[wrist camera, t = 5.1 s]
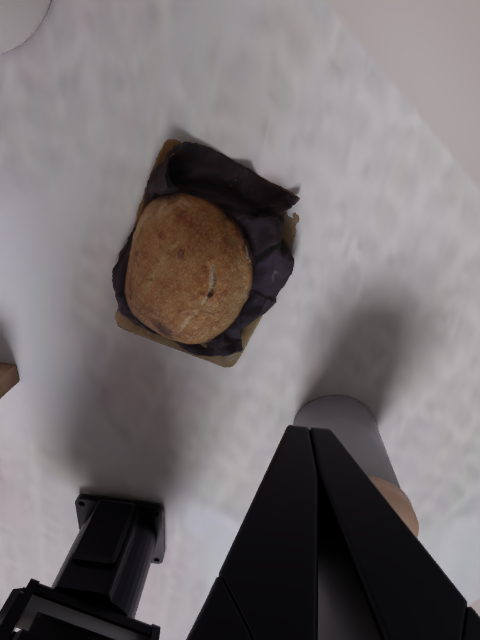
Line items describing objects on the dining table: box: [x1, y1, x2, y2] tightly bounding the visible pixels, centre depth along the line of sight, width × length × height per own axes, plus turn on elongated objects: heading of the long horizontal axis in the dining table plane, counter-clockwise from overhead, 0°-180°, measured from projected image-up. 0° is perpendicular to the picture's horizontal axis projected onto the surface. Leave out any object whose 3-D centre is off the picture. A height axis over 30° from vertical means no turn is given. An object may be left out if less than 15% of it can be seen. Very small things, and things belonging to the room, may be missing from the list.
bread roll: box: [112, 139, 300, 367], centre depth 18 cm, size 11×8×4 cm
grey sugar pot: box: [293, 395, 419, 538], centre depth 20 cm, size 5×5×7 cm
